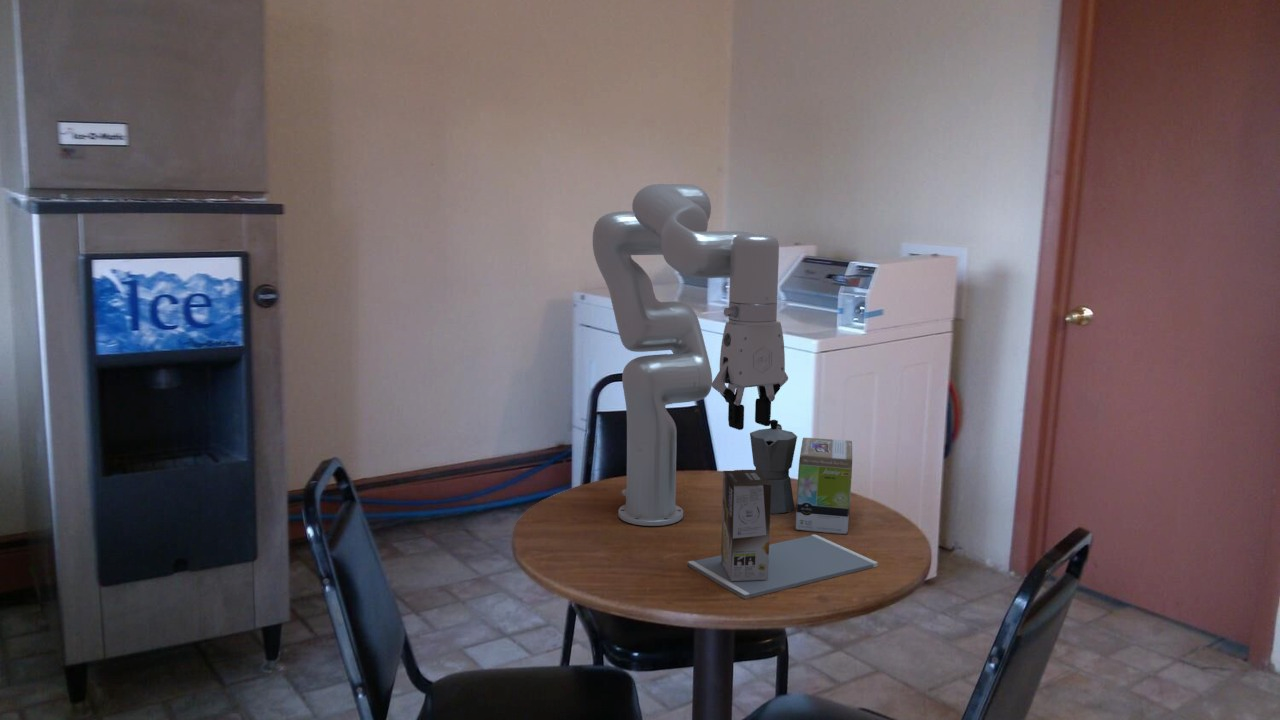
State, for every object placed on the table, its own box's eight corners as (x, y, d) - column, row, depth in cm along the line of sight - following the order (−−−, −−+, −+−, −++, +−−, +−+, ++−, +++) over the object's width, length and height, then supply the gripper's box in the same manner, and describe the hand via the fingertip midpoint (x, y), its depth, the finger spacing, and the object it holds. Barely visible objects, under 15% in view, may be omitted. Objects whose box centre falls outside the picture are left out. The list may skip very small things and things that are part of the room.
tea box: (849, 535, 183) (853, 458, 180) (794, 531, 185) (797, 454, 182) (849, 510, 197) (852, 438, 195) (798, 506, 199) (801, 435, 197)
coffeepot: (790, 519, 191) (794, 429, 188) (742, 515, 193) (745, 425, 190) (799, 496, 206) (802, 412, 203) (754, 492, 208) (756, 409, 205)
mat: (687, 565, 167) (687, 561, 166) (814, 537, 181) (815, 534, 181) (744, 599, 153) (744, 594, 153) (877, 566, 167) (877, 562, 167)
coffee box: (769, 580, 159) (773, 484, 156) (730, 582, 158) (733, 485, 155) (755, 560, 168) (758, 468, 165) (719, 561, 167) (721, 469, 164)
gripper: (722, 319, 148) (719, 437, 151) (809, 313, 157) (805, 425, 160) (694, 313, 155) (692, 427, 158) (779, 308, 163) (776, 416, 166)
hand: (749, 425), depth 159 cm, fingers open, 4 cm apart
